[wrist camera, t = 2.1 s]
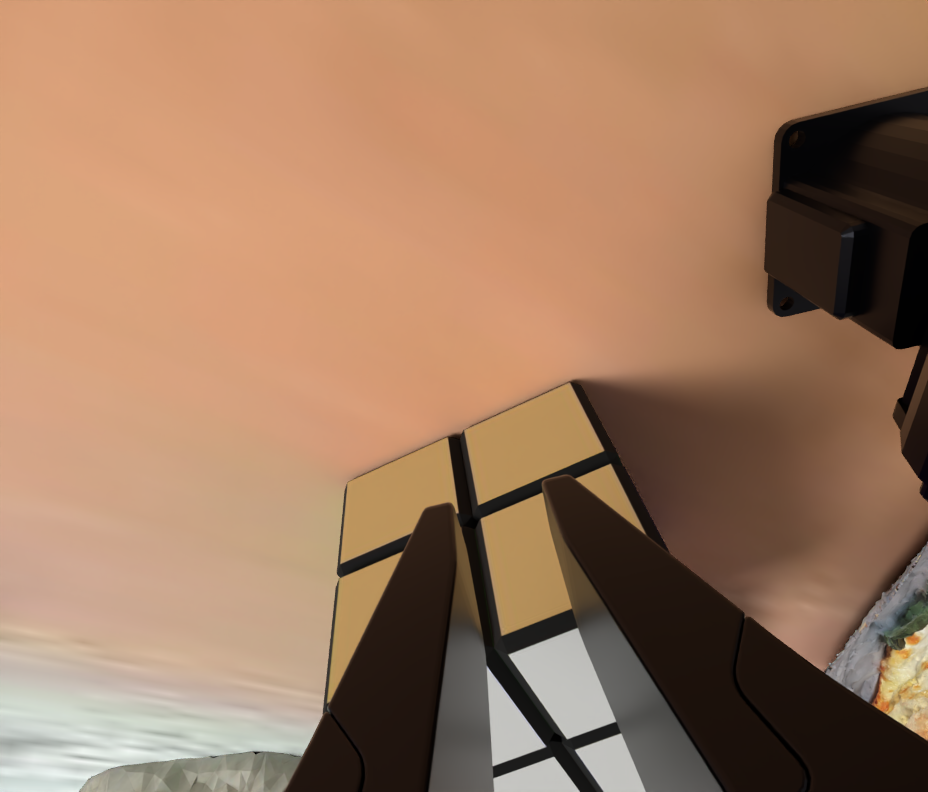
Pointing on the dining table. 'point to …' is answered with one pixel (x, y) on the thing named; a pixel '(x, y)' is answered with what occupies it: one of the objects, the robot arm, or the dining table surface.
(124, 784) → the ceramic cottage
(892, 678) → the food plate
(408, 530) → the puzzle cube
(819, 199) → the robot arm
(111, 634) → the dining table surface
